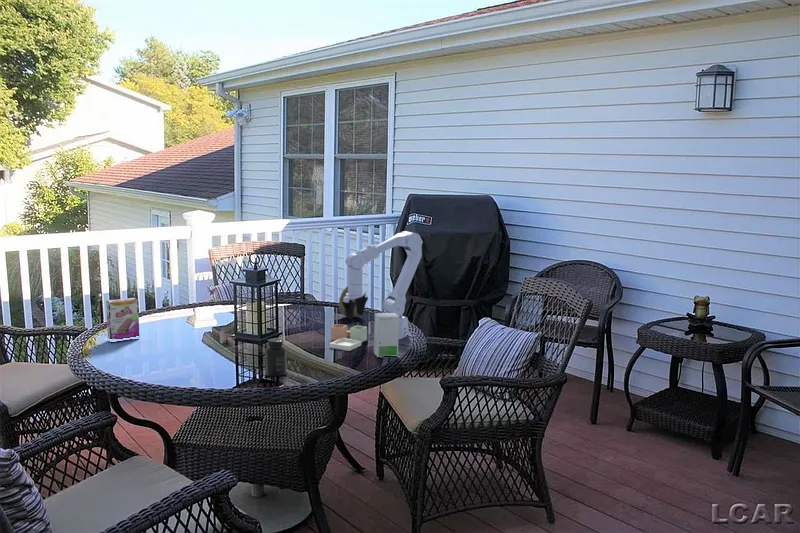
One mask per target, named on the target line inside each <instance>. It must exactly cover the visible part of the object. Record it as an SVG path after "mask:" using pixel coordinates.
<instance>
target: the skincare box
mask: <svg viewBox="0 0 800 533" xmlns="http://www.w3.org/2000/svg"><path fill="white" fill-rule="evenodd" d="M373 333H374V338H373V354H374V355H375V356H376V358H378V357H380V358H383V357H382V356H393V355H398V356H399V340H400V339H399V316H398V315H397V314H395V313H385V312H377V313H374V332H373Z"/></svg>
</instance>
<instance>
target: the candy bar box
mask: <svg viewBox="0 0 800 533" xmlns="http://www.w3.org/2000/svg"><path fill="white" fill-rule="evenodd" d="M105 305H106V308H105V309H106V326H107V328H106V330H107V339H108V338H109V339H123V338H130V337H136V336H139V337H140V321H139V318H140V317H139V300H138V298H136V297H130V298H120V299H108V300H106V301H105Z"/></svg>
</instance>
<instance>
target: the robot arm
mask: <svg viewBox="0 0 800 533" xmlns="http://www.w3.org/2000/svg"><path fill="white" fill-rule="evenodd" d="M423 243H424V241H423V240H422V237H421V235H420V234H419V233H417V232H412V231H408V230H403V231H401V232H398V233H396V234H395V235H393V236H391V237H389V238H388V239H386V240H384V241H382V242H381V243H379V244H377V245H374V244H367V245H366V246H365V247H364V248H363V249H360V250H359V249H358V250H356V251H355V253H354V252H352V253H349V254H348V255H347V257H346V259H345V264H346V266H347V286H348V293H346V296H345V297H343V301H342V304H343V306H344V308H345V310H346V314H347V317H346V318H347V319H349V320H351V319H352V320H353V319H354V317H353V315H354V308H355V305H356V306H357V314H358V315H360V316H363V314H364V310H365V307H366V305H367V302H368V300H369V298H368V297H367V291H366V290H363V268H364V267H365V265H366V264H368V263H370V262H372V261H374V260H375V259H378V258H380V254H381V253H383V252H386V251H388V250H390V249H393V248H395V247H403V249H404V250H405V252H406V256H407V257H406V259H405V262H404V264H403V266H402V269H401V271H400V273H399V276H398V278H397V280H396V283H395V286H394V288H393V290H392V291H390V292H389V293H388V294H387V297H386V298H384V299H383V301H382V304H381V305H382V306H381V307H382V309H383V310H384V313H395V314H397V315H398V316H399V339H398V340H402V339H404V338H406V337H408V336H409V335H408V334H409V318H408V317H407V316H404V315H403V314H404V312H405V309H406V308H405V306H406V303H407V298H406V294H407V293H408V292H407V291H408V289H409V287H410V285H411V283H412V280H413V278H414V275H415V273H416V270H417V268H418V265H419V263H420V262H421V259H422V257H423V256H422V255H423V253H422V252H423V251H422V246H423ZM354 299H355V302H356V303H355V302H353V301H352V300H354ZM358 315H357V316H358ZM407 335H408V336H407Z"/></svg>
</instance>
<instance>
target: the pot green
mask: <svg viewBox="0 0 800 533" xmlns="http://www.w3.org/2000/svg"><path fill="white" fill-rule="evenodd" d="M349 330H350V336H349V339H353V340H359V341H361V344H362V343H364V342H365V341H368V326H362V325H354V326H352V327H350V328H349Z"/></svg>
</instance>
